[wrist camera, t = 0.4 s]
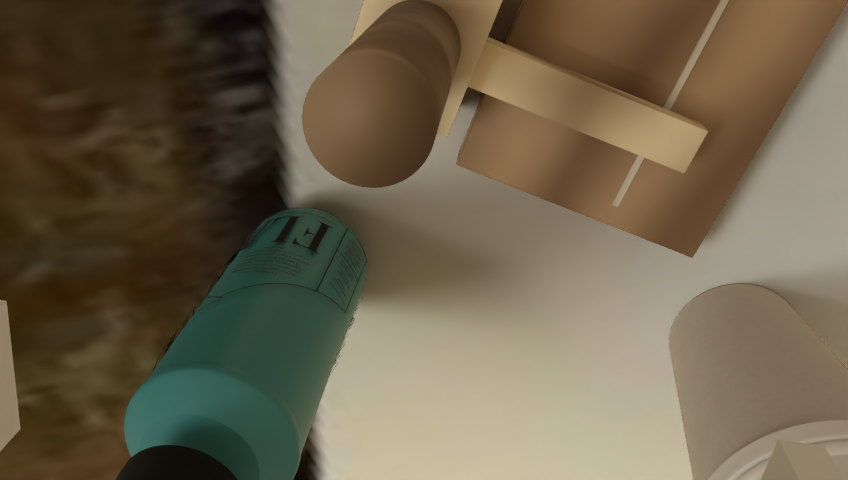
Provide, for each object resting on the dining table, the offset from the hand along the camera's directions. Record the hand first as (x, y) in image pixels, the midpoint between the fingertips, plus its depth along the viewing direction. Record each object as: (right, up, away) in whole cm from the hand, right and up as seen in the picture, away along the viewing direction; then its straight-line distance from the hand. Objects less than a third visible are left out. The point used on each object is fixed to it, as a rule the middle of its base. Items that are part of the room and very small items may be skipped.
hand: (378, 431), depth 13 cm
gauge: (+6, +11, +22) cm, 25 cm away
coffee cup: (+17, -2, +27) cm, 32 cm away
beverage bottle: (-5, +3, +27) cm, 28 cm away
